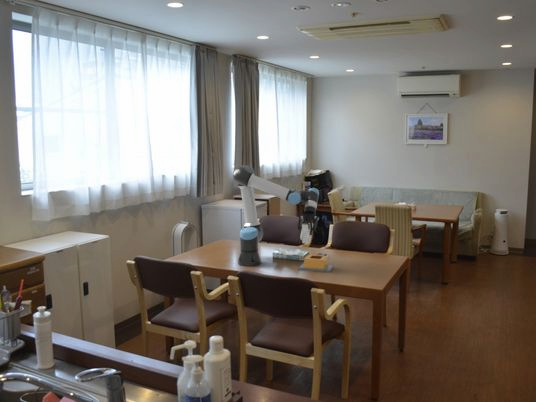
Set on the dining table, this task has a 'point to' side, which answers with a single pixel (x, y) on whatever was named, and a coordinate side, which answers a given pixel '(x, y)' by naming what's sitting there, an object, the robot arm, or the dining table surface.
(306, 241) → the white cylinder
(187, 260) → the dining table surface
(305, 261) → the yellow and grey block
